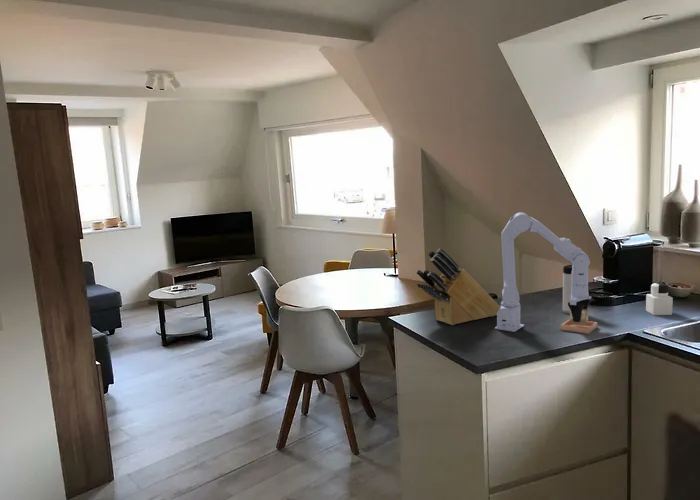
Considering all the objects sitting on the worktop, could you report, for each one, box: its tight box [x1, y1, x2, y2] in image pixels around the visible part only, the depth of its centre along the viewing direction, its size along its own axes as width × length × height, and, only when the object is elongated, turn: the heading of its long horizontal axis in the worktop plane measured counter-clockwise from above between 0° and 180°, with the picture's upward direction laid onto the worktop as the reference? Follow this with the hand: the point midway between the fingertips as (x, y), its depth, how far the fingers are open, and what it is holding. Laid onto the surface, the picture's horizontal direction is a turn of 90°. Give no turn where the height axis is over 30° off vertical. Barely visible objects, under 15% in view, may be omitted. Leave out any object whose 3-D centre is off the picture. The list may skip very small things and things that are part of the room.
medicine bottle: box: [645, 282, 674, 316], centre depth 217 cm, size 7×7×12 cm
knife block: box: [415, 248, 501, 326], centre depth 220 cm, size 11×35×31 cm, turn 117°
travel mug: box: [562, 264, 573, 315], centre depth 224 cm, size 6×7×20 cm
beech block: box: [569, 309, 589, 326], centre depth 202 cm, size 5×5×5 cm
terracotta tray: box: [560, 318, 598, 335], centre depth 203 cm, size 10×10×2 cm
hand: (579, 319), depth 203 cm, fingers closed on beech block, 5 cm apart
